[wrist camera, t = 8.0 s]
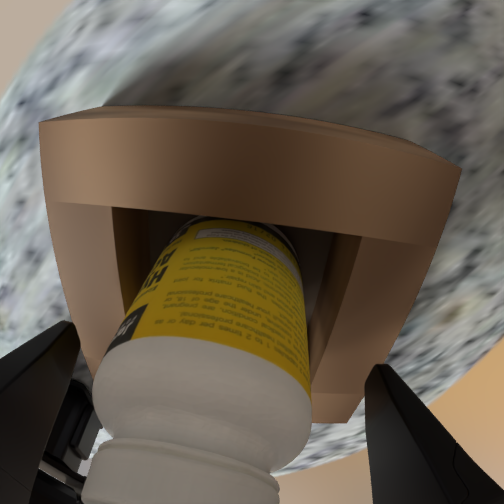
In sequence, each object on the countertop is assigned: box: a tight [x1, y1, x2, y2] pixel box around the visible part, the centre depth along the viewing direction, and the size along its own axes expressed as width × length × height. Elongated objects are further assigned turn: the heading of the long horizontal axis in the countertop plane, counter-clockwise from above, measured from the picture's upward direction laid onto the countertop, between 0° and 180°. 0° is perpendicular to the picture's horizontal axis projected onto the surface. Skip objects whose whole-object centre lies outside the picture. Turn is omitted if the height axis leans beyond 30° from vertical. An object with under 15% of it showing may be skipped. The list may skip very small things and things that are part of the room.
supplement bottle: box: [81, 215, 312, 504], centre depth 8 cm, size 5×5×10 cm
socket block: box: [39, 105, 462, 423], centre depth 12 cm, size 12×12×4 cm
